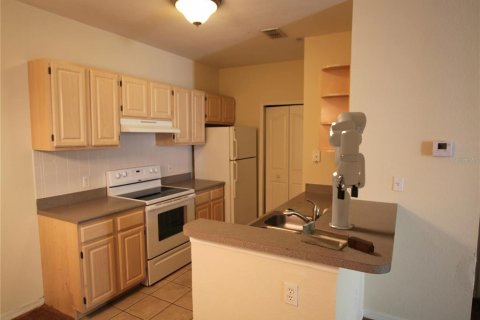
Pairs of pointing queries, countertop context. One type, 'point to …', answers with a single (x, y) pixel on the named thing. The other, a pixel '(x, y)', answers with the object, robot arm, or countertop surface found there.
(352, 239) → the brick
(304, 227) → the rail board
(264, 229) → the countertop surface
